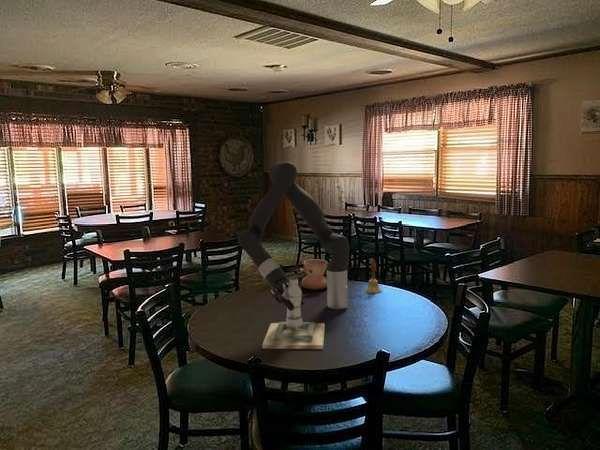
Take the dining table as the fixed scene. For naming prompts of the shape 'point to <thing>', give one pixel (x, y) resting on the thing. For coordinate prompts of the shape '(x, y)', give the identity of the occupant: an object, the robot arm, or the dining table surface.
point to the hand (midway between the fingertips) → (297, 306)
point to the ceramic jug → (314, 274)
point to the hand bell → (373, 281)
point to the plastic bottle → (294, 296)
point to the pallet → (294, 343)
